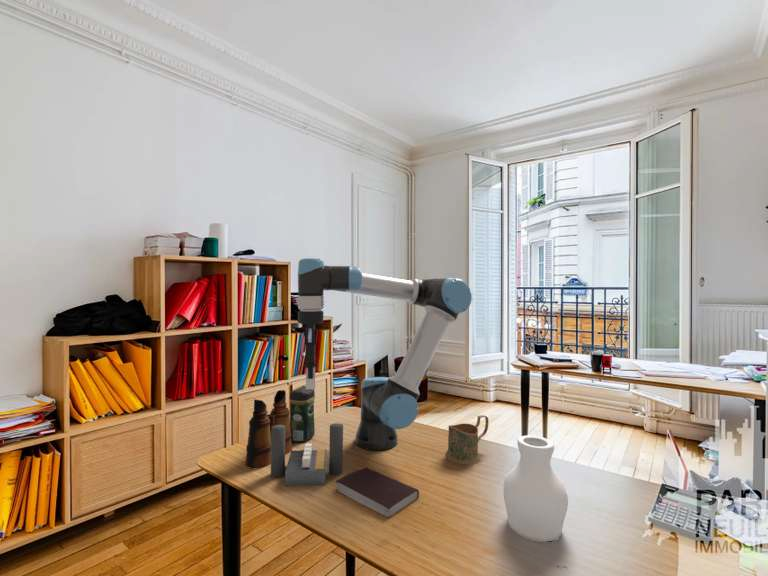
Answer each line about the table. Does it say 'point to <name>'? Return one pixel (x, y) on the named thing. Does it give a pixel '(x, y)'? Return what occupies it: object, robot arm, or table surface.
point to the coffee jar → (302, 414)
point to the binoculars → (266, 431)
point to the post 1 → (277, 451)
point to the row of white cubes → (307, 455)
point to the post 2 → (336, 449)
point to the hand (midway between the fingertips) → (310, 388)
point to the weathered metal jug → (464, 442)
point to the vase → (535, 492)
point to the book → (376, 491)
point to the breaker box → (306, 469)
